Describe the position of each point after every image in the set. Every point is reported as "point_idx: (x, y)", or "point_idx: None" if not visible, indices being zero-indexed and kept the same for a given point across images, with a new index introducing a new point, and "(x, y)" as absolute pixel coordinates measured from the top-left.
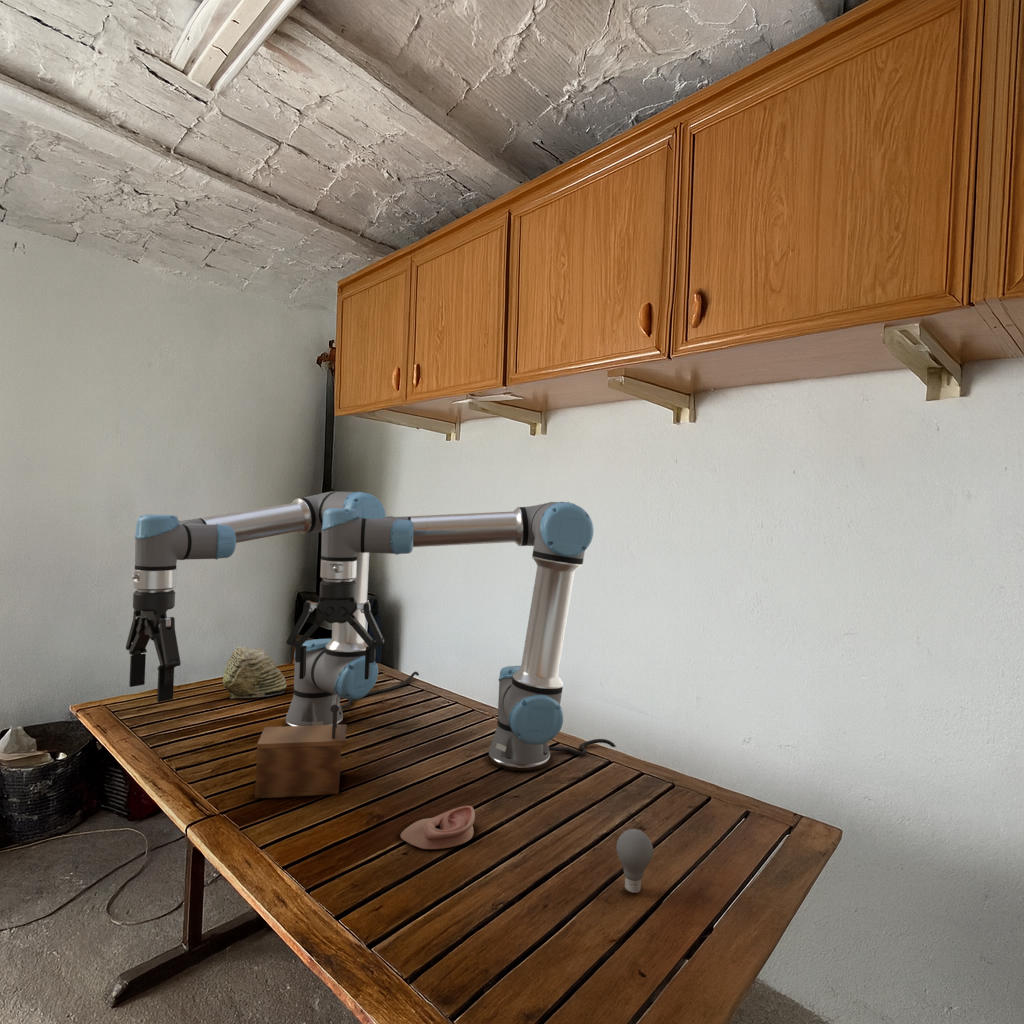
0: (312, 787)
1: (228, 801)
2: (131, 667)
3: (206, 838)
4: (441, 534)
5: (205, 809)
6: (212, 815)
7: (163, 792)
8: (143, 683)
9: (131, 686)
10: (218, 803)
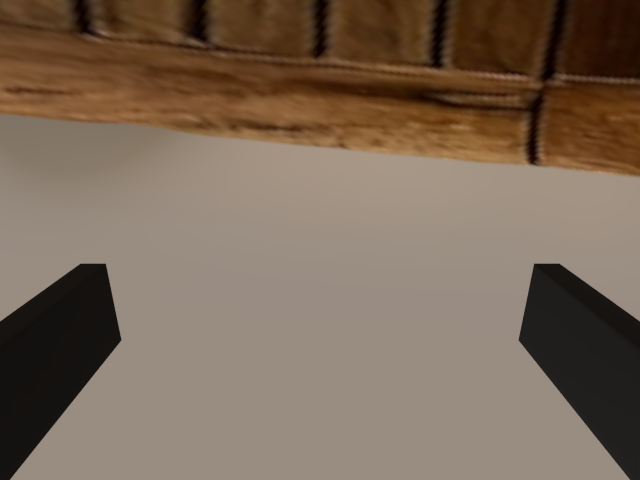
0: None
1: (506, 30)
2: (35, 447)
3: (616, 162)
4: None
5: (495, 98)
6: (537, 101)
7: (324, 132)
8: (102, 274)
9: (118, 337)
10: (494, 56)
